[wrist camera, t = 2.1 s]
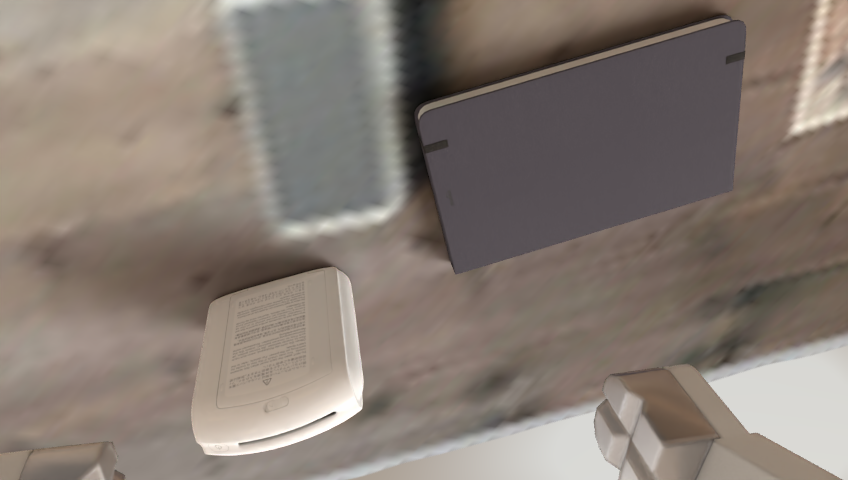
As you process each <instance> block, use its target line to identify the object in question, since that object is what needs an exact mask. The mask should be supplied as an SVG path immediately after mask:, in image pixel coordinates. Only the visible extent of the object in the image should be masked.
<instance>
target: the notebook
mask: <svg viewBox="0 0 848 480" xmlns="http://www.w3.org/2000/svg"><path fill="white" fill-rule="evenodd" d="M745 41H746V26H745V24H744V22H743V21H740V20H733V21H732V19H731V17H730V16H727V15H719V16H715V17H712V18H709V19H705V20H702V21H698V22H695V23H692V24H688V25H685V26H681V27H678V28H675V29H671V30H668V31H664V32H661V33H658V34H654V35H651V36H647V37H644V38H641V39H637V40H634V41H630V42H627V43H624V44H620V45H617V46H613V47H610V48H607V49H603V50H600V51H596V52H593V53H590V54H586V55H583V56H579V57H576V58H573V59H569V60H566V61H562V62H559V63H556V64H552V65H549V66H545V67H542V68H539V69H535V70H532V71H528V72H525V73H522V74H518V75H515V76H511V77H508V78H504V79H501V80H498V81H494V82H491V83H487V84H484V85H481V86H477V87H474V88H470V89H467V90H464V91H460V92H457V93H453V94H450V95H447V96H443V97H440V98H436V99H433V100H430V101H426V102H424V103H422V104H420V105H419V106H418V107H417V108H416V110H415V113H414V116H415V123H416V127H417V131H418V135H419V140H420V144H421V147H422V151H423V155H424V158H425V162H426V166H427V170H428V174H429V178H430V182H431V186H432V190H433V194H434V198H435V202H436V206H437V210H438V214H439V218H440V222H441V226H442V230H443V234H444V238H445V242H446V246H447V250H448V254H449V258H450V262H451V265H452V267H453V270H454V272H455V274H459V273H463V272H466V271H469V270H473V269H476V268H479V267H483V266H486V265H489V264H492V263H496V262H499V261H502V260H506V259H509V258H512V257H515V256H519V255H522V254H525V253H529V252H532V251H535V250H538V249H542V248H545V247H548V246H552V245H555V244H558V243H561V242H565V241H568V240H571V239H575V238H578V237H581V236H584V235H588V234H591V233H594V232H598V231H601V230H604V229H608V228H611V227H614V226H617V225H621V224H624V223H627V222H631V221H634V220H637V219H640V218H644V217H647V216H650V215H654V214H657V213H660V212H663V211H667V210H670V209H673V208H677V207H680V206H683V205H686V204H690V203H693V202H696V201H700V200H703V199H706V198H709V197H713V196H716V195H719V194H723V193H726V192H729V191H732V190H733V179H734V167H735V156H736V144H737V133H738V121H739V110H740V98H741V87H742V75H743V64H744V57H745Z"/></svg>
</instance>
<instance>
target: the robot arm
mask: <svg viewBox="0 0 848 480" xmlns="http://www.w3.org/2000/svg"><path fill="white" fill-rule="evenodd" d="M602 391H603V393H604V394H605V396H606V398H607V399H605V400H604V401H603V402H602V403H601V404H600V405H599V406H598V407H597V410H596V414H595V419H594V428H595V436H596V440H597V443H598V446H599V448H600V450H601V452H602V454H603V456H604V458H605V460H606V461H608V462H609V463H611V464H612V465H613V466H615V467H616V468H618V469H619V470H620V472H619V478H618V480H842V479H840V478H838V477H837V476H835V475H833V474H831V473H829V472H827V471H826V470H824V469H822V468H820V467H818V466H817V465H815V464H813V463H811V462H809V461H808V460H806V459H804V458H802V457H800V456H798V455H797V454H795V453H793V452H791V451H789V450H787V449H786V448H784V447H782V446H780V445H778V444H777V443H775V442H773V441H771V440H769V439H767V438H766V437H764V436H762V435H760V434H758V433H751V434H749V433H748V431H747V430H746V429H745V428H744V427H743V425H742V424H741V423H740V422H739V420H738V419H737V418H736V417H735V416H734V414H733V413H732V412H731V411H730V410H729V408H728V407H727V406H726V405H725V403H724V402H723V401H722V400H721V399H720V397H719V396H718V395H717V394H716V393H715V392H714V390H713V389H712V388H711V387H710V385H709V384H708V383H707V382H706V380H705V379H704V378H703V377H702V376H701V374H700V373H699V372H698V371H697V370H696V369H695V368H694V367H692V366H691V365H689V364H683V365H676V366H669V367H662V368H652V369H645V370H638V371H631V372H624V373H617V374H610V375H609V376H608V377H607V378H606V379H605V382H604V385H603V388H602ZM117 459H118V455H117V452H116V450H115V447H114V445H113V442H98V443H89V444H79V445H70V446H61V447H51V448H42V449H35V450H27V451H19V452H10V453H1V454H0V480H126V477H125V475H124V474H122V473H120V472H118V471H117V470H115V467H116V463H117Z"/></svg>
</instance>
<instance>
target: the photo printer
mask: <svg viewBox="0 0 848 480" xmlns="http://www.w3.org/2000/svg"><path fill="white" fill-rule="evenodd" d="M362 390H363V372H362V364H361V356H360V349H359V341H358V333H357V325H356V317H355V309H354V302H353V294H352V287H351V282H350V280H349V278H348V277H347V276H346V275H345V274H344V273H343V272H342V271H340V270H338V269H337V268H336V267H328V268H321V269H316V270H312V271H308V272H304V273H301V274H297V275H293V276H290V277H286V278H282V279H279V280H275V281H272V282H268V283H265V284H261V285H258V286H254V287H251V288H247V289H244V290H241V291H238V292H234V293H231V294H228V295H226V296H223V297H221V298H218V299H216V300H214V301H213V302H212V303H211V304H210V306H209V310H208V316H207V322H206V328H205V334H204V340H203V345H202V351H201V356H200V362H199V368H198V373H197V378H196V384H195V390H194V395H193V400H192V407H191V418H192V426H193V432H194V436H195V439H196V442H197V443H199V444H200V445H201V446H202V447H203V450H204V452H205V453H206V454H209V455H242V454H251V453H257V452H262V451H267V450H272V449H276V448H279V447H283V446H287V445H290V444H293V443H296V442H299V441H302V440H305V439H307V438H310V437H313V436H315V435H317V434H320V433H322V432H324V431H326V430H328V429H330V428H332V427H334V426H336V425H338V424H340V423H342V422H344V421H345V420H347V419H349V418H350V417H352V416H353V415H355V414H356V413H357V412H359V411H360V410H361V409H362V406H363V399H362Z"/></svg>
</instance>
